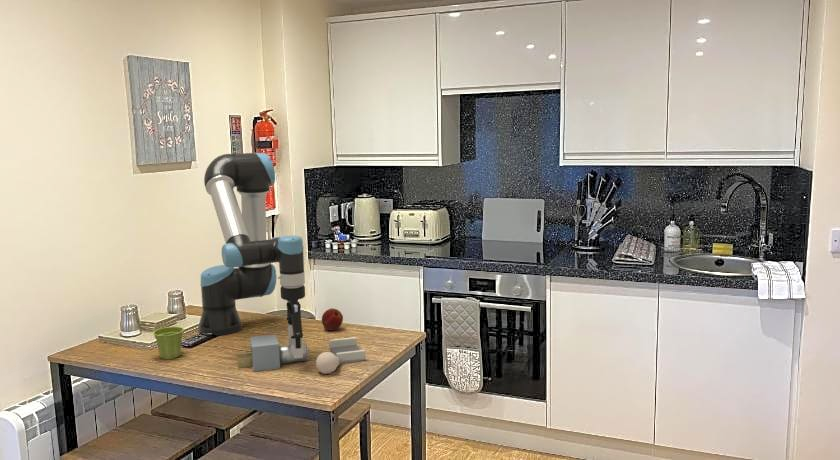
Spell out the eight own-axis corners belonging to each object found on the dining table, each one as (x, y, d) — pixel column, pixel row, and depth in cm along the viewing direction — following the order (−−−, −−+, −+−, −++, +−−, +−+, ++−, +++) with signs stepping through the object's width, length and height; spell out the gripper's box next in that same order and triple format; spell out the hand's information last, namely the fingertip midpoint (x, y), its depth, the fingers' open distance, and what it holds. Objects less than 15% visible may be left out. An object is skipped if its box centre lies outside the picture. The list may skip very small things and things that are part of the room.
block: (251, 360, 208) (250, 337, 207) (276, 357, 211) (275, 334, 209) (253, 371, 199) (251, 347, 198) (280, 368, 201) (278, 344, 200)
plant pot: (156, 353, 216) (153, 328, 215) (186, 349, 219) (184, 325, 217) (154, 363, 207) (151, 336, 206) (185, 359, 210) (183, 333, 209)
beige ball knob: (332, 347, 205) (315, 349, 195) (350, 354, 203) (334, 356, 193) (326, 367, 205) (309, 370, 195) (344, 374, 203) (327, 377, 192)
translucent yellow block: (238, 365, 205) (237, 354, 204) (264, 362, 207) (263, 351, 207) (238, 369, 201) (237, 358, 201) (264, 366, 204) (264, 355, 203)
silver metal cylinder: (269, 368, 204) (269, 354, 201) (267, 357, 208) (267, 343, 205) (307, 364, 207) (308, 350, 204) (305, 352, 212) (305, 339, 209)
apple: (330, 334, 233) (330, 312, 232) (317, 329, 239) (316, 308, 237) (346, 329, 239) (346, 308, 237) (333, 325, 244) (332, 304, 243)
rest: (329, 349, 218) (329, 339, 217) (356, 346, 220) (355, 337, 220) (337, 363, 204) (337, 354, 204) (365, 360, 207) (365, 350, 206)
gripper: (276, 278, 214) (279, 340, 217) (284, 296, 191) (288, 365, 194) (299, 276, 216) (302, 337, 220) (310, 293, 193) (313, 362, 196)
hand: (295, 350), depth 207 cm, fingers open, 13 cm apart
